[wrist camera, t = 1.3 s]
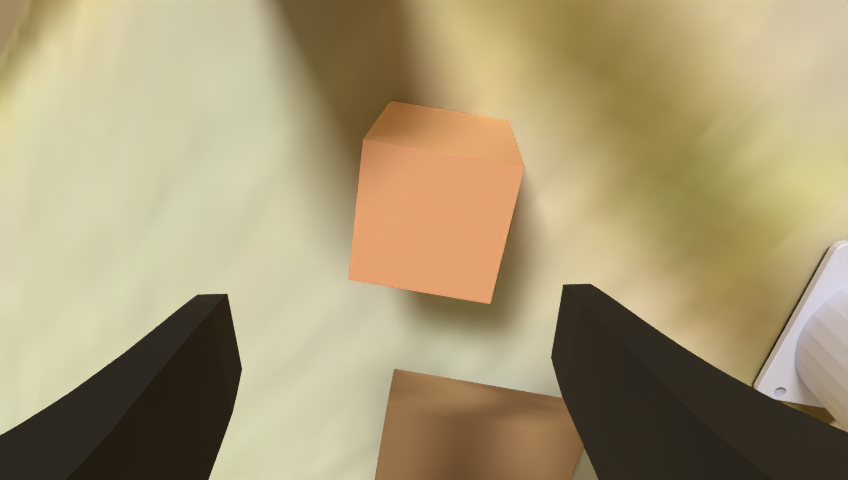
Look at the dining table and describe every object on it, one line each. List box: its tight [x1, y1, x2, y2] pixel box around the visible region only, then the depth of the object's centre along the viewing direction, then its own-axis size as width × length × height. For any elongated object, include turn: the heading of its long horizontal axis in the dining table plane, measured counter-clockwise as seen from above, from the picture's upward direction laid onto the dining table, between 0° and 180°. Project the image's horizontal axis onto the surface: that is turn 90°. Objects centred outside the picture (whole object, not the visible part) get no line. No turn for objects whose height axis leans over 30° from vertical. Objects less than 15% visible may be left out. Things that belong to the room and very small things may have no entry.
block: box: [375, 369, 584, 480], centre depth 26 cm, size 9×9×3 cm
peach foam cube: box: [348, 101, 524, 304], centre depth 18 cm, size 5×5×6 cm
